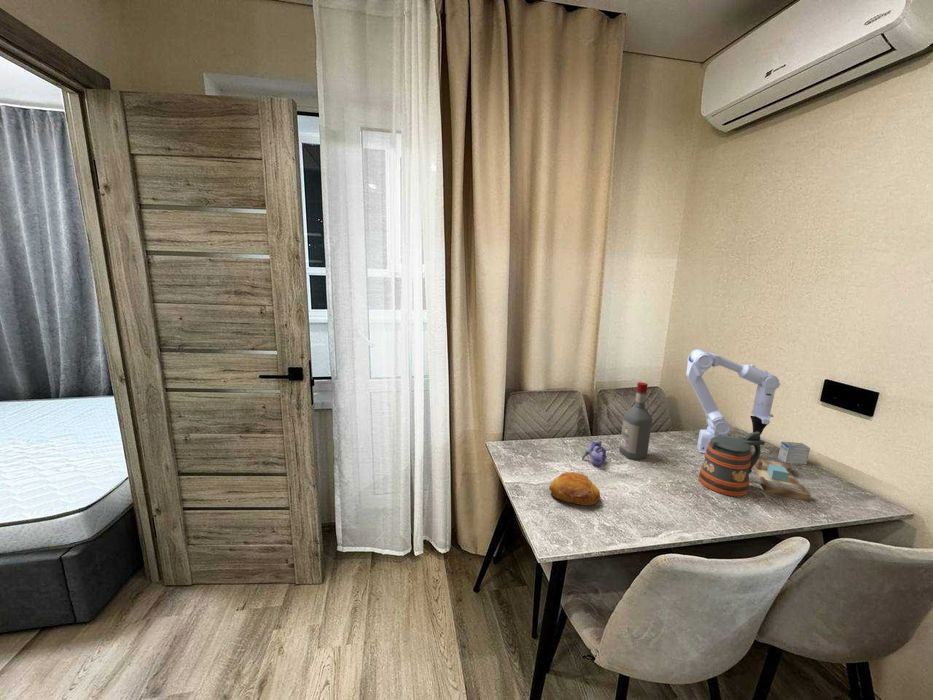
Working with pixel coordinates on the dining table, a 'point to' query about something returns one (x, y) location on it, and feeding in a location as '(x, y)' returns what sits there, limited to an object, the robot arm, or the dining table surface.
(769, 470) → the block
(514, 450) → the dining table surface
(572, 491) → the bread loaf
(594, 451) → the flower
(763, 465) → the deck
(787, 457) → the medicine box
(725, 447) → the beer stein
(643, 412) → the liquor
